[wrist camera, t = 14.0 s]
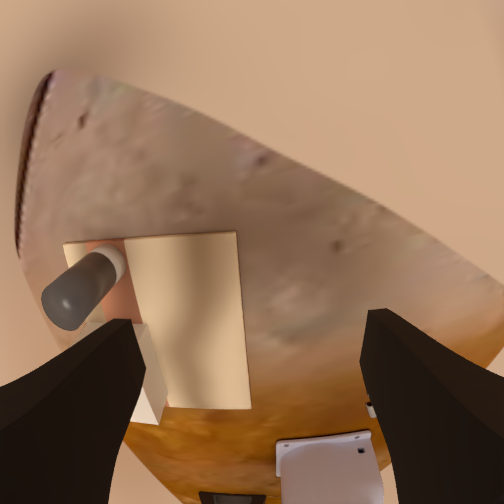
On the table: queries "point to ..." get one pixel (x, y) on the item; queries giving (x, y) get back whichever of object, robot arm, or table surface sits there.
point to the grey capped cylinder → (83, 287)
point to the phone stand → (230, 498)
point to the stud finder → (153, 383)
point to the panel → (183, 312)
